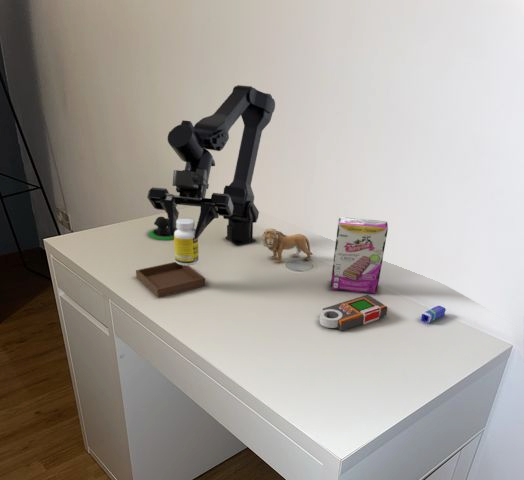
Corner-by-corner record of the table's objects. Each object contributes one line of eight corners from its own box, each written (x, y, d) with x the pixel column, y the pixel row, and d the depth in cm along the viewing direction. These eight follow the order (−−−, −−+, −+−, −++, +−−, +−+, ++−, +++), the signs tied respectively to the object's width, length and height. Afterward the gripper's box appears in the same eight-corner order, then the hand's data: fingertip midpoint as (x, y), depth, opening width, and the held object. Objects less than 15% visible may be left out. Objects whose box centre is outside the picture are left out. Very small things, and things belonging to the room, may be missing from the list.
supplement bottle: (197, 266, 123) (195, 225, 118) (173, 266, 123) (170, 224, 118) (200, 257, 128) (198, 216, 122) (177, 256, 128) (174, 216, 122)
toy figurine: (188, 229, 160) (187, 210, 156) (176, 241, 151) (175, 221, 148) (156, 226, 161) (155, 207, 158) (142, 237, 153) (140, 217, 150)
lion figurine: (266, 266, 138) (267, 233, 134) (258, 259, 143) (259, 226, 138) (316, 259, 144) (319, 226, 139) (307, 252, 148) (310, 220, 143)
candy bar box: (329, 290, 128) (337, 223, 119) (330, 281, 132) (337, 216, 123) (377, 295, 127) (388, 227, 118) (377, 286, 131) (387, 220, 122)
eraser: (420, 320, 117) (421, 312, 116) (436, 312, 120) (438, 304, 119) (427, 324, 115) (429, 315, 114) (444, 316, 119) (446, 308, 118)
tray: (182, 267, 136) (181, 260, 135) (205, 285, 128) (205, 278, 127) (136, 277, 130) (135, 270, 129) (157, 297, 122) (157, 289, 121)
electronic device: (313, 310, 114) (369, 292, 120) (313, 322, 116) (367, 304, 122) (332, 324, 109) (389, 305, 115) (331, 336, 111) (387, 317, 117)
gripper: (146, 150, 117) (131, 215, 114) (229, 156, 115) (216, 224, 111) (162, 177, 128) (148, 238, 125) (238, 184, 125) (226, 246, 122)
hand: (183, 236), depth 121 cm, fingers closed on supplement bottle, 5 cm apart
